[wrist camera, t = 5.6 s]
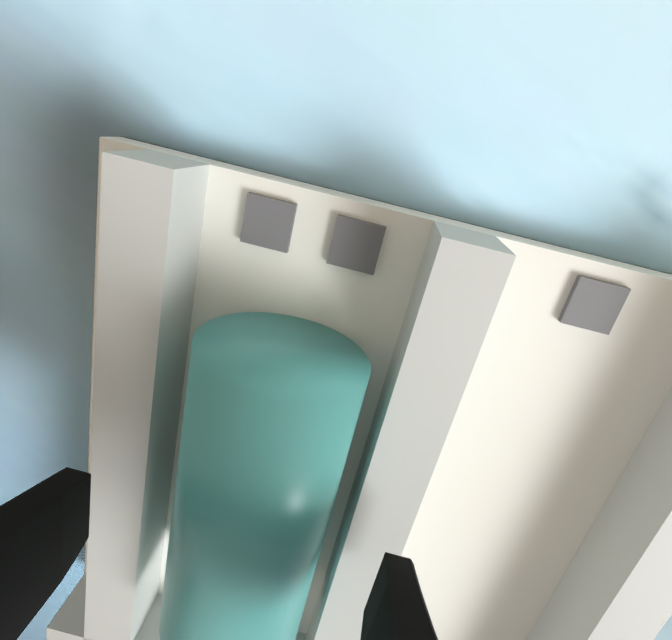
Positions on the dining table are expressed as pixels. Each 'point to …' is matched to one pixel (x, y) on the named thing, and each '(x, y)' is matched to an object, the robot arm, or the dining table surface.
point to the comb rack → (390, 403)
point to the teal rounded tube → (257, 473)
